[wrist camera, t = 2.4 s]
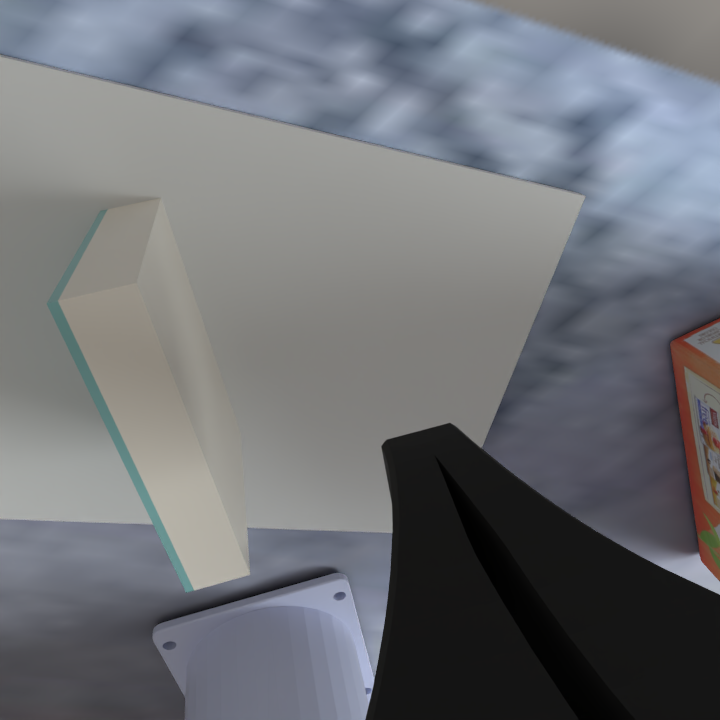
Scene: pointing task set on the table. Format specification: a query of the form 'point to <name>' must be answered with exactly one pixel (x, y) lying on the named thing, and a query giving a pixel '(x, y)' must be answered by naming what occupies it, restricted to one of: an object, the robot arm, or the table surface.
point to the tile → (158, 387)
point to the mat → (263, 293)
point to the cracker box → (701, 430)
